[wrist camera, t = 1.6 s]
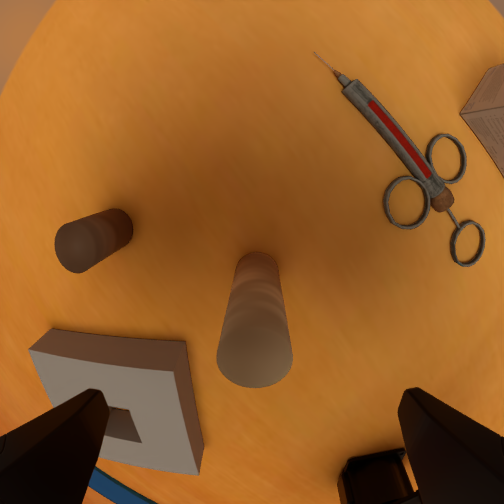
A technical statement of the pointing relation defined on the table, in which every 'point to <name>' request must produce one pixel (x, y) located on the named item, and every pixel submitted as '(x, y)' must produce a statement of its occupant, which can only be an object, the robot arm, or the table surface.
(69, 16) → the table surface
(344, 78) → the syringe
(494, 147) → the light bulb box
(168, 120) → the table surface
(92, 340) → the socket block
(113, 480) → the smartphone
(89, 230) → the wenge pin
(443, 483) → the robot arm
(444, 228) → the table surface
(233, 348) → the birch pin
